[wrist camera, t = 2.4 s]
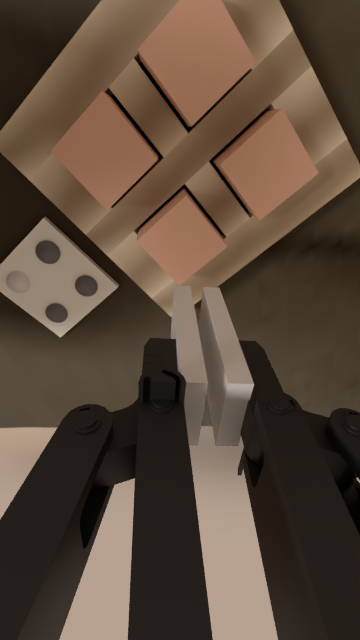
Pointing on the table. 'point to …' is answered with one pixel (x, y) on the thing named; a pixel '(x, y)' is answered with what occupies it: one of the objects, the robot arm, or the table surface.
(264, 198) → the button
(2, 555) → the robot arm
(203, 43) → the button
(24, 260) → the card
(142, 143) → the button
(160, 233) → the button
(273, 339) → the table surface
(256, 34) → the board
